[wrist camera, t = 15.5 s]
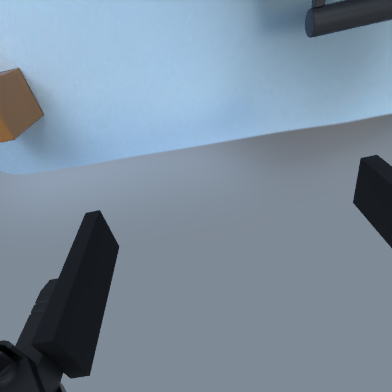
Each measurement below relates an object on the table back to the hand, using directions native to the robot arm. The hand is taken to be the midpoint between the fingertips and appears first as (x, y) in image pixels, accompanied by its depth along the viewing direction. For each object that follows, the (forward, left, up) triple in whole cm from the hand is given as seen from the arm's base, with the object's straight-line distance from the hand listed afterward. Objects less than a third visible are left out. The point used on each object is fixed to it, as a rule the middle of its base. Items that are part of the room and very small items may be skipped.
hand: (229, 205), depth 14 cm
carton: (-17, -7, -17) cm, 25 cm away
